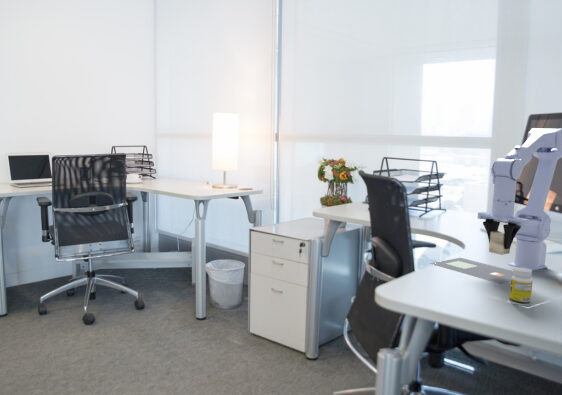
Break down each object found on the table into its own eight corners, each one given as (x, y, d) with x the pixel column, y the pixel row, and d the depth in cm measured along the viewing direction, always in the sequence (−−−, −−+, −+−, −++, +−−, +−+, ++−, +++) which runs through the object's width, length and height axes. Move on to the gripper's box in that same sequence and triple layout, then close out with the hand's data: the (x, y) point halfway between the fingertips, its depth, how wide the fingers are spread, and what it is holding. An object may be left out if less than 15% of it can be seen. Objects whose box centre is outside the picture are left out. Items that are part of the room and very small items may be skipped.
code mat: (460, 258, 163) (460, 257, 163) (531, 276, 143) (531, 275, 143) (429, 264, 154) (429, 263, 154) (500, 284, 134) (500, 283, 134)
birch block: (496, 250, 146) (498, 230, 145) (509, 253, 142) (511, 233, 142) (488, 251, 143) (490, 231, 143) (501, 254, 140) (503, 234, 139)
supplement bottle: (512, 298, 123) (515, 265, 122) (532, 302, 120) (536, 269, 119) (506, 302, 119) (509, 269, 118) (527, 307, 116) (531, 273, 115)
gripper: (473, 198, 145) (469, 243, 146) (520, 204, 133) (516, 253, 134) (486, 197, 149) (483, 241, 150) (534, 203, 137) (529, 250, 139)
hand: (499, 246), depth 143 cm, fingers closed on birch block, 4 cm apart
